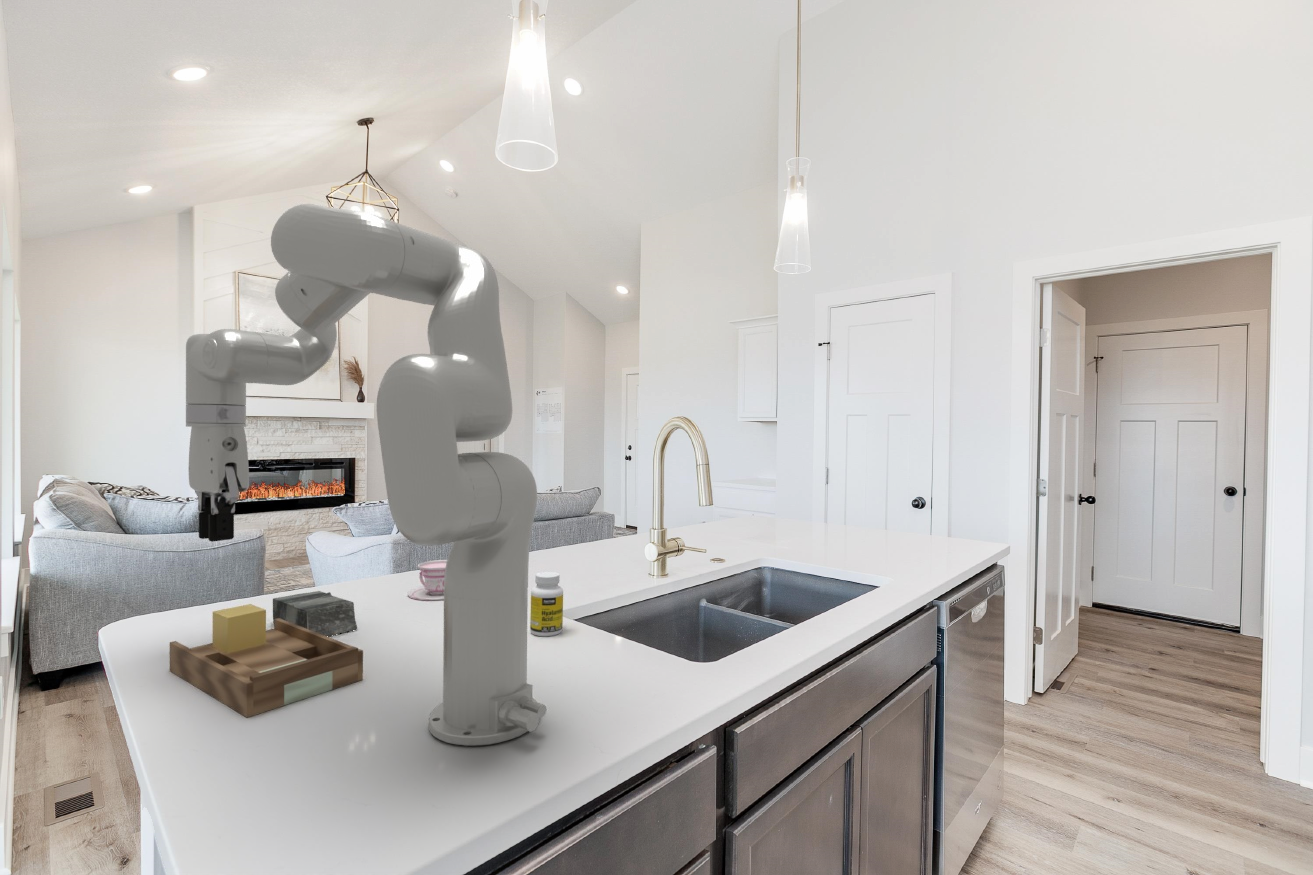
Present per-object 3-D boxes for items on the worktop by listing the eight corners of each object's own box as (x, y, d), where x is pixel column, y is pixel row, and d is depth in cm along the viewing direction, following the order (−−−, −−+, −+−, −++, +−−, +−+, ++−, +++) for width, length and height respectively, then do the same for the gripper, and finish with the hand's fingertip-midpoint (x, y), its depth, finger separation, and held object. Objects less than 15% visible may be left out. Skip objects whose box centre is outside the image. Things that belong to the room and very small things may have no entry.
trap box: (362, 679, 88) (363, 646, 88) (246, 717, 76) (246, 679, 76) (278, 643, 102) (278, 614, 102) (169, 670, 90) (169, 638, 90)
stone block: (325, 614, 119) (326, 586, 119) (362, 631, 109) (362, 600, 109) (272, 625, 112) (272, 594, 112) (306, 643, 103) (306, 611, 103)
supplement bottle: (540, 639, 106) (540, 579, 105) (524, 630, 110) (525, 573, 110) (568, 632, 109) (569, 574, 109) (552, 624, 113) (552, 569, 113)
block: (265, 643, 94) (266, 609, 94) (227, 653, 90) (227, 617, 90) (250, 637, 97) (250, 603, 97) (212, 646, 93) (212, 611, 93)
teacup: (438, 584, 142) (438, 556, 141) (481, 590, 136) (481, 561, 136) (394, 597, 131) (394, 566, 131) (439, 604, 125) (439, 572, 125)
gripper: (268, 418, 96) (267, 541, 96) (221, 417, 106) (221, 530, 106) (210, 417, 90) (210, 549, 90) (166, 416, 99) (166, 536, 100)
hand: (216, 537), depth 98 cm, fingers open, 2 cm apart
